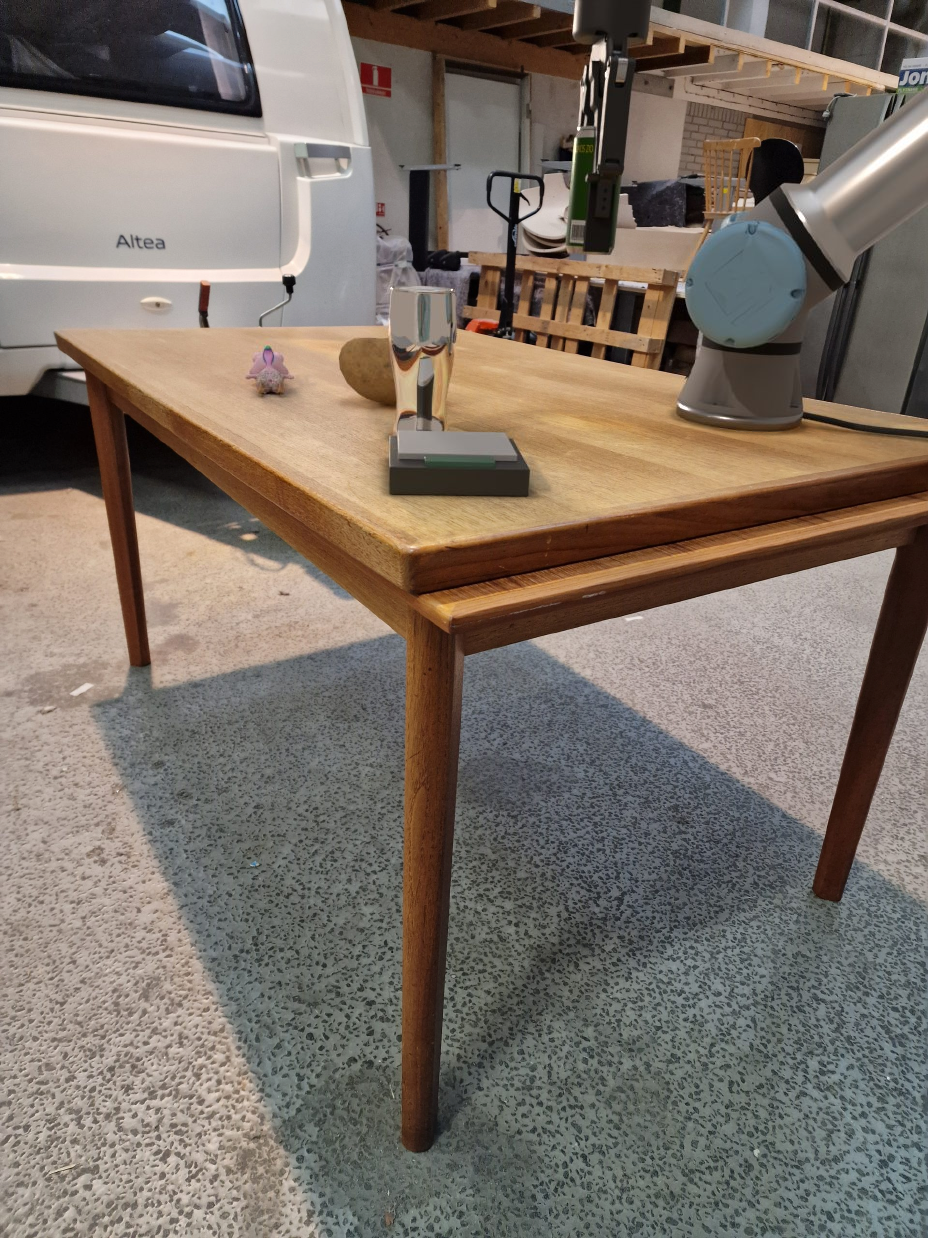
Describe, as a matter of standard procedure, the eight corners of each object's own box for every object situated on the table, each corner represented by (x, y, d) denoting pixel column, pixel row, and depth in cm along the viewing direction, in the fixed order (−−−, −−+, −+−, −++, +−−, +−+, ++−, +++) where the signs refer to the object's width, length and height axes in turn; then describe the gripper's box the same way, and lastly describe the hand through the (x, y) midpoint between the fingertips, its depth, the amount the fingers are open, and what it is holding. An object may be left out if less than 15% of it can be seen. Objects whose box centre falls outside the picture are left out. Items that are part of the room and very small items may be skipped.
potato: (456, 411, 101) (458, 343, 97) (341, 411, 98) (339, 341, 95) (444, 396, 110) (446, 333, 106) (338, 395, 107) (336, 330, 104)
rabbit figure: (296, 406, 106) (290, 367, 118) (294, 360, 102) (288, 325, 114) (246, 406, 104) (245, 367, 116) (243, 360, 101) (242, 324, 113)
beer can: (603, 255, 88) (616, 124, 82) (557, 252, 90) (567, 125, 85) (620, 254, 92) (633, 130, 87) (575, 252, 94) (585, 131, 89)
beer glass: (445, 448, 84) (450, 292, 78) (380, 442, 86) (379, 288, 79) (458, 433, 91) (464, 287, 84) (398, 428, 92) (399, 284, 85)
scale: (511, 462, 81) (513, 432, 79) (528, 496, 71) (530, 462, 70) (389, 460, 80) (389, 429, 78) (389, 494, 70) (389, 459, 68)
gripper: (559, 11, 89) (542, 247, 99) (597, -36, 72) (572, 252, 82) (626, 16, 89) (603, 249, 99) (680, -31, 73) (645, 255, 83)
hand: (589, 250), depth 91 cm, fingers closed on beer can, 5 cm apart
